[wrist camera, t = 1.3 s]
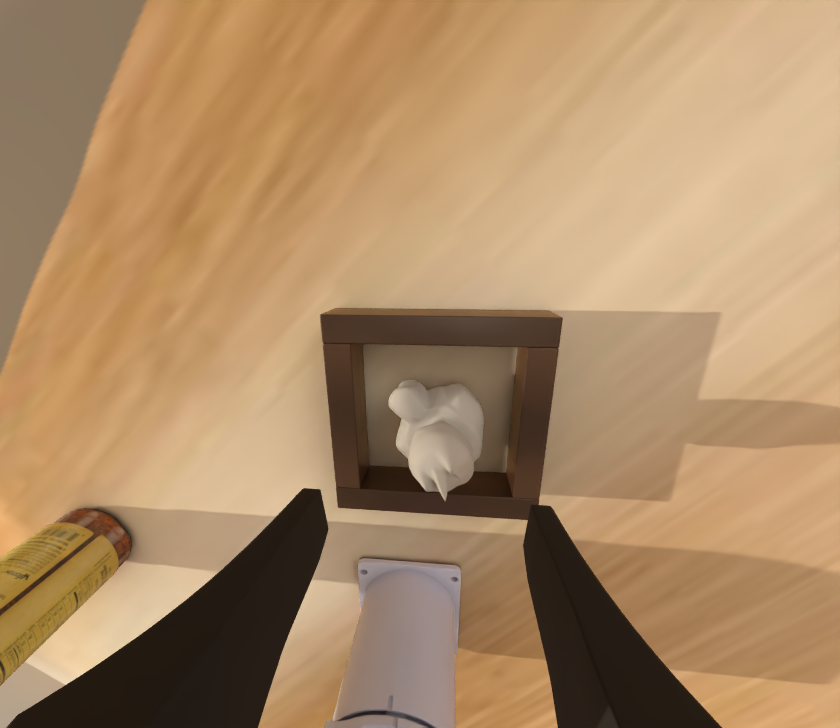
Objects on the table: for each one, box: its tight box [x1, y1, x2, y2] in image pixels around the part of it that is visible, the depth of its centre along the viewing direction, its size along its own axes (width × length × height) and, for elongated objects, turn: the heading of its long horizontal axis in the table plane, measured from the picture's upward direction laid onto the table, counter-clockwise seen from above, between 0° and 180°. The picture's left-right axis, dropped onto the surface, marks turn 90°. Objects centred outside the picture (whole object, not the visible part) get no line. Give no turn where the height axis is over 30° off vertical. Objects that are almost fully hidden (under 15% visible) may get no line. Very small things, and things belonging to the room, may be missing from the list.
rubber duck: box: [389, 380, 484, 501], centre depth 18 cm, size 5×7×8 cm
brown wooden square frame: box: [320, 308, 563, 520], centre depth 20 cm, size 13×13×2 cm
